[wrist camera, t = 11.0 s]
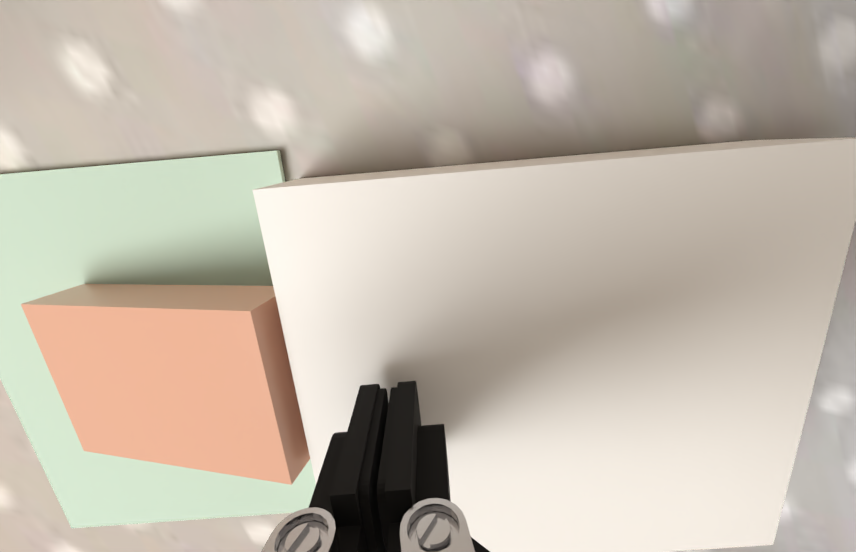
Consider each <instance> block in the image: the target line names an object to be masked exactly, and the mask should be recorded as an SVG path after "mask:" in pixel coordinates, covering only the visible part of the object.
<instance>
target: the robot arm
mask: <svg viewBox="0 0 856 552" xmlns="http://www.w3.org/2000/svg"><path fill="white" fill-rule="evenodd" d="M261 552H490V551H489V550H487V549H486V548H485V547H483V546H482V545H481V544H480V543H478V542H477V541H476V540H474V539H473V538H472V537H471V536H470V532H469V529H468V525H467V521H466V518H465V516H464V514H463V512H462V510H461V509H460V508H459V507H458V506H457V505H456V504H454V503H452V502H451V499H450V485H449V471H448V459H447V448H446V437H445V427H444V424H436V425H423V426H422V425H421V417H420V408H419V400H418V391H417V383H416V381H405V382H398V384H397V387H392V388H391V391H390V398H389V402H388V395H387V390H386V388H380V385H379V384H369V385H361V386H360V388H359V391H358V395H357V398H356V402H355V405H354V409H353V413H352V416H351V420H350V423H349V427H348V431H347V432H337V433H334V434H333V435H332V438H331V440H330V443H329V446H328V450H327V453H326V456H325V459H324V462H323V465H322V468H321V471H320V474H319V477H318V480H317V483H316V486H315V489H314V492H313V495H312V498H311V501H310V505H309V508H304V509H302V510H299V511H296V512H294V513H292V514H291V515H289V516H287V517H286V518H285V519H284V520H282V521H281V522H280V523H279V524H278V525H277V526H276V528H275V529H274V531H273V532H272V533H271V535H270V537H269V539H268V540H267V542H266V544H265V546H264V548H263V549H262V551H261Z"/></svg>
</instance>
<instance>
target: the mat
mask: <svg viewBox="0 0 856 552" xmlns="http://www.w3.org/2000/svg"><path fill="white" fill-rule="evenodd" d="M283 182H285V176H284V171H283V166H282V160H281V155H280V150H276V151H265V152H253V153H242V154H230V155H219V156H207V157H195V158H184V159H172V160H161V161H149V162H137V163H126V164H114V165H103V166H91V167H79V168H68V169H56V170H45V171H33V172H21V173H10V174H0V379H1V381H2V384H3V386H4V388H5V390H6V392H7V394H8V396H9V398H10V400H11V402H12V404H13V407H14V409H15V411H16V413H17V415H18V417H19V419H20V421H21V423H22V425H23V427H24V430H25V432H26V434H27V436H28V438H29V440H30V442H31V444H32V446H33V448H34V450H35V453H36V455H37V457H38V459H39V461H40V463H41V465H42V467H43V469H44V471H45V473H46V476H47V478H48V480H49V482H50V484H51V486H52V488H53V490H54V492H55V494H56V496H57V499H58V501H59V503H60V505H61V507H62V509H63V511H64V513H65V515H66V517H67V519H68V522H69V524H70V526H71V528H82V527H96V526H110V525H125V524H139V523H153V522H167V521H181V520H195V519H210V518H224V517H238V516H252V515H266V514H281V513H294V512H296V511H299V510H302V509H304V508H309V505H310V501H311V498H312V495H313V492H314V489H315V486H316V483H315V478H314V474H313V469H312V464H311V460H309V461H308V462H307V464H306V465H305V467H304V468H303V470H302V471H301V472H300V474H299V475H298V477H297V478H296V479H295V481H294V482H293V484H292V485H290V484H284V483H278V482H272V481H265V480H259V479H253V478H247V477H241V476H235V475H229V474H222V473H216V472H210V471H204V470H198V469H192V468H186V467H179V466H173V465H167V464H161V463H155V462H149V461H142V460H136V459H130V458H124V457H118V456H112V455H106V454H99V453H93V452H87V451H84V450H83V448H82V445H81V443H80V441H79V438H78V436H77V434H76V432H75V429H74V427H73V425H72V422H71V420H70V418H69V415H68V413H67V411H66V408H65V406H64V404H63V401H62V399H61V397H60V394H59V392H58V390H57V387H56V385H55V383H54V380H53V378H52V376H51V374H50V371H49V369H48V367H47V364H46V362H45V360H44V357H43V355H42V353H41V350H40V348H39V346H38V343H37V341H36V339H35V336H34V334H33V332H32V329H31V327H30V325H29V322H28V320H27V318H26V316H25V313H24V311H23V309H22V306H21V304H22V303H26V302H29V301H32V300H35V299H38V298H41V297H44V296H47V295H51V294H54V293H57V292H60V291H63V290H66V289H69V288H72V287H76V286H79V285H82V284H147V285H241V286H273V283H272V278H271V274H270V269H269V264H268V260H267V255H266V250H265V246H264V241H263V236H262V232H261V227H260V222H259V218H258V213H257V208H256V204H255V199H254V194H253V189H258V188H262V187H266V186H270V185H274V184H278V183H283Z"/></svg>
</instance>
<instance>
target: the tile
mask: <svg viewBox="0 0 856 552" xmlns="http://www.w3.org/2000/svg"><path fill="white" fill-rule="evenodd" d="M21 306H22V309H23V311H24V313H25V316H26V318H27V320H28V322H29V325H30V327H31V329H32V332H33V334H34V336H35V339H36V341H37V343H38V346H39V348H40V350H41V353H42V355H43V357H44V360H45V362H46V364H47V367H48V369H49V371H50V374H51V376H52V378H53V380H54V383H55V385H56V387H57V390H58V392H59V394H60V397H61V399H62V401H63V404H64V406H65V408H66V411H67V413H68V415H69V418H70V420H71V422H72V425H73V427H74V429H75V432H76V434H77V436H78V438H79V441H80V443H81V445H82V448H83V450H84V451H87V452H93V453H99V454H106V455H112V456H118V457H124V458H130V459H136V460H142V461H149V462H155V463H161V464H167V465H173V466H179V467H186V468H192V469H198V470H204V471H210V472H216V473H222V474H229V475H235V476H241V477H247V478H253V479H259V480H265V481H272V482H278V483H284V484H290V485H292V484H293V482H294V481H295V479H296V478H297V477H298V475H299V474H300V472H301V471H302V470H303V468H304V467H305V465H306V464H307V462H308V461H309V460H310V455H309V450H308V446H307V441H306V436H305V432H304V427H303V422H302V418H301V413H300V408H299V404H298V399H297V394H296V390H295V385H294V381H293V376H292V371H291V367H290V362H289V357H288V353H287V348H286V343H285V339H284V334H283V329H282V325H281V320H280V315H279V311H278V306H277V301H276V297H275V292H274V287H273V286H241V285H147V284H82V285H79V286H76V287H72V288H69V289H66V290H63V291H60V292H57V293H54V294H51V295H47V296H44V297H41V298H38V299H35V300H32V301H29V302H26V303H22V304H21Z"/></svg>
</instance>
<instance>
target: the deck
mask: <svg viewBox="0 0 856 552" xmlns="http://www.w3.org/2000/svg"><path fill="white" fill-rule="evenodd" d="M253 194H254V199H255V204H256V208H257V213H258V218H259V222H260V227H261V232H262V236H263V241H264V246H265V250H266V255H267V260H268V264H269V269H270V274H271V278H272V283H273V287H274V292H275V297H276V301H277V306H278V311H279V315H280V320H281V325H282V329H283V334H284V339H285V343H286V348H287V353H288V357H289V362H290V367H291V371H292V376H293V381H294V385H295V390H296V394H297V399H298V404H299V408H300V413H301V418H302V422H303V427H304V432H305V436H306V441H307V446H308V450H309V455H310V460H311V464H312V469H313V474H314V478H315V483H317V480H318V477H319V474H320V471H321V468H322V465H323V462H324V459H325V456H326V453H327V450H328V446H329V443H330V440H331V438H332V435H333V434H334V433H337V432H347V431H348V427H349V423H350V420H351V416H352V413H353V409H354V405H355V402H356V398H357V395H358V391H359V388H360V386H361V385H369V384H379V385H380V388H386V390H387V395H388V402H389V398H390V391H391V388H392V387H397V384H398V382H405V381H416V383H417V391H418V400H419V408H420V417H421V425H422V426H423V425H436V424H444V427H445V437H446V448H447V459H448V471H449V485H450V499H451V502H452V503H454V504H456V505H457V506H458V507H459V508H460V509H461V510H462V512H463V514H464V516H465V518H466V521H467V525H468V529H469V532H470V536H471V537H472V538H473V539H474V540H476V541H477V542H478V543H480V544H481V545H482V546H483V547H485V548H486V549H487V550H489V551H490V552H674V551H688V550H703V549H718V548H733V547H747V546H762V545H773V543H774V539H775V535H776V532H777V528H778V524H779V520H780V516H781V512H782V508H783V504H784V500H785V496H786V492H787V488H788V484H789V480H790V477H791V473H792V469H793V465H794V461H795V457H796V453H797V449H798V445H799V441H800V437H801V433H802V429H803V425H804V422H805V418H806V414H807V410H808V406H809V402H810V398H811V394H812V390H813V386H814V382H815V378H816V374H817V370H818V367H819V363H820V359H821V355H822V351H823V347H824V343H825V339H826V335H827V331H828V327H829V323H830V319H831V315H832V312H833V308H834V304H835V300H836V296H837V292H838V288H839V284H840V280H841V276H842V272H843V268H844V264H845V260H846V256H847V253H848V249H849V245H850V241H851V237H852V233H853V229H854V225H855V221H856V137H852V138H813V139H774V140H747V141H735V142H723V143H712V144H700V145H688V146H676V147H665V148H653V149H641V150H629V151H618V152H606V153H594V154H582V155H570V156H559V157H547V158H535V159H523V160H512V161H500V162H488V163H476V164H465V165H453V166H441V167H429V168H417V169H406V170H394V171H382V172H370V173H359V174H347V175H335V176H323V177H312V178H300V179H295V180H291V181H287V182H283V183H278V184H274V185H270V186H266V187H262V188H258V189H253Z"/></svg>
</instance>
